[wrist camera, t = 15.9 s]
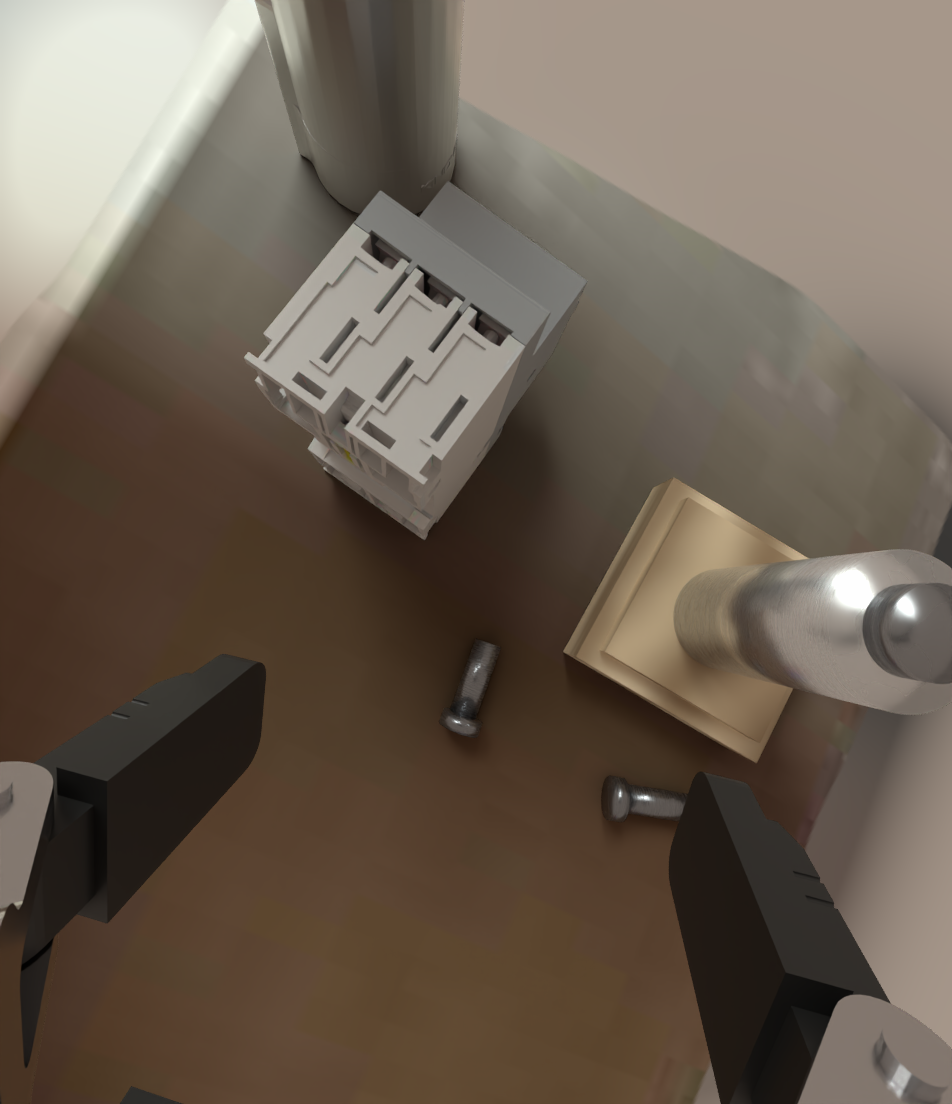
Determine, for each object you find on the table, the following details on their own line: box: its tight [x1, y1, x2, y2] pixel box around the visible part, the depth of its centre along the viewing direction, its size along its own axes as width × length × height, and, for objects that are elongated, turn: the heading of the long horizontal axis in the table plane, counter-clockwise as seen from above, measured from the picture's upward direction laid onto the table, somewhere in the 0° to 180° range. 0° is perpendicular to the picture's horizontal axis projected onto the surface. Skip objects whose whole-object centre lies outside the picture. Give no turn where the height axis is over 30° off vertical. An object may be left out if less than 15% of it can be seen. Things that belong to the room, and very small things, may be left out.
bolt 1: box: [439, 638, 501, 738], centre depth 32 cm, size 5×2×2 cm, turn 160°
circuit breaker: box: [244, 181, 588, 540], centre depth 27 cm, size 8×14×15 cm, turn 145°
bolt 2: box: [602, 776, 688, 822], centre depth 32 cm, size 5×2×2 cm, turn 80°
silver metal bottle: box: [673, 549, 952, 715], centre depth 24 cm, size 6×6×13 cm
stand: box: [563, 478, 809, 763], centre depth 32 cm, size 12×12×4 cm
